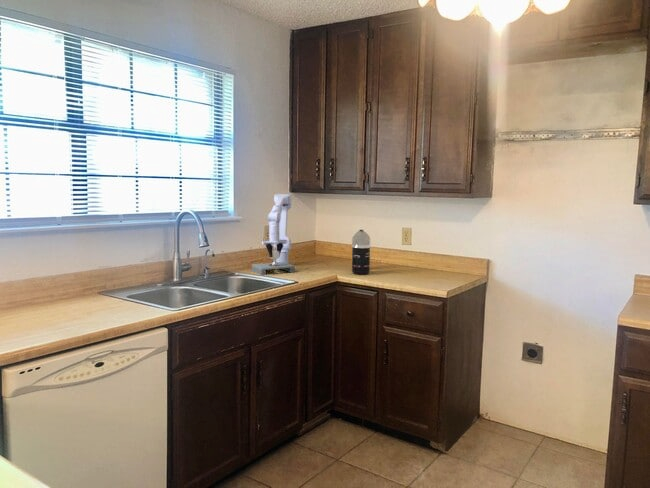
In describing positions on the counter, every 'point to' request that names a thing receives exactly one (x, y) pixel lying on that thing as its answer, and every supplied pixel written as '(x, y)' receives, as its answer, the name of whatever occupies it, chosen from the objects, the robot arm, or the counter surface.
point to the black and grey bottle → (361, 253)
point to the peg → (275, 256)
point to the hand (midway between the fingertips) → (274, 256)
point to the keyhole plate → (263, 267)
